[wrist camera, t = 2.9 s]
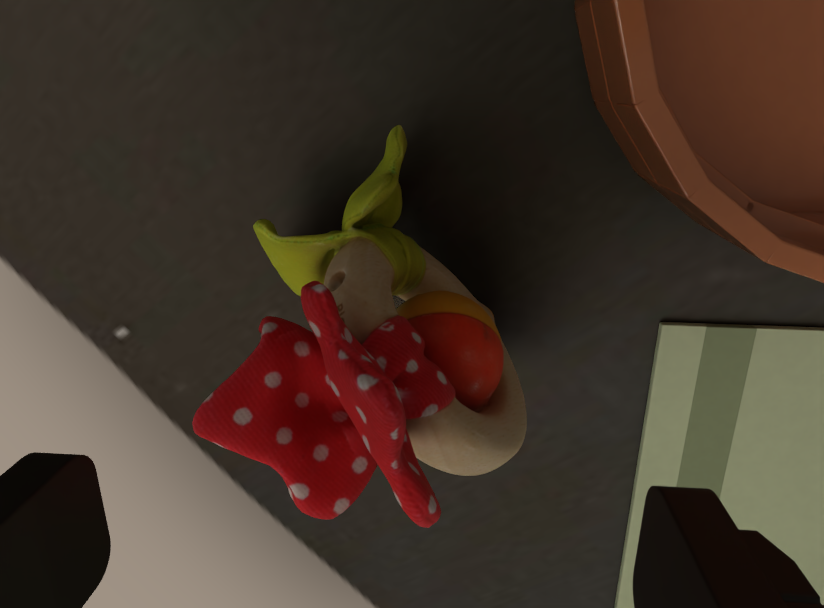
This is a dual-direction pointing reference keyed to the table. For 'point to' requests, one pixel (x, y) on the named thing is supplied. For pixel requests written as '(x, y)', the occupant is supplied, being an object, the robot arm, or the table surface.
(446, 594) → the table surface
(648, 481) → the towel
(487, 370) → the bird rattle
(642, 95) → the pan
